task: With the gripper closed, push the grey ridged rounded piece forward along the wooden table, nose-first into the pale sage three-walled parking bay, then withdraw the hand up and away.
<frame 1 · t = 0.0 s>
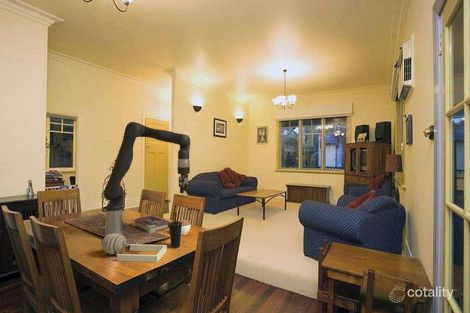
hand: (183, 192, 158), 29 cm above the table, fingers open, 8 cm apart
book: (150, 227, 183), on the table
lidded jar: (182, 233, 168), on the table
grey ridged rounded piece: (114, 255, 134), on the table
bay: (142, 255, 133), on the table
drinking cup: (175, 247, 145), on the table
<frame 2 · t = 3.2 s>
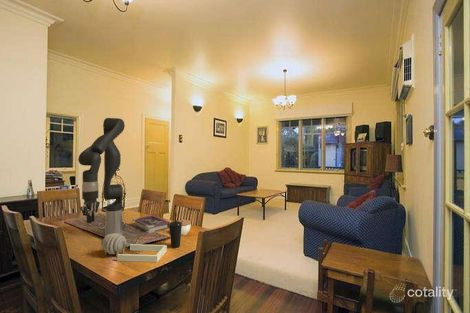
hand: (90, 222, 134), 17 cm above the table, fingers closed
nothing on the table moved.
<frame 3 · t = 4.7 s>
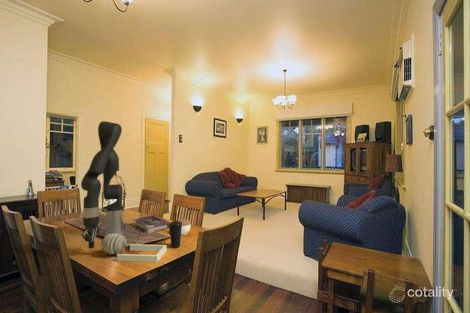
hand: (91, 247, 134), 3 cm above the table, fingers closed
nothing on the table moved.
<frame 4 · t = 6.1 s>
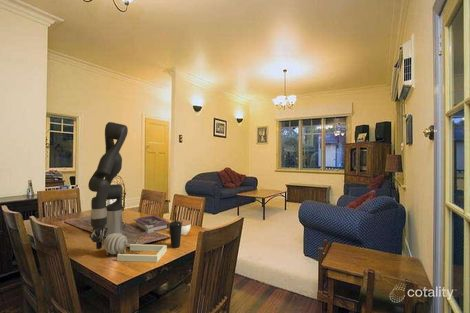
hand: (99, 248, 134), 3 cm above the table, fingers closed
grey ridged rounded piece: (115, 255, 134), on the table, touching gripper
everything else where it was.
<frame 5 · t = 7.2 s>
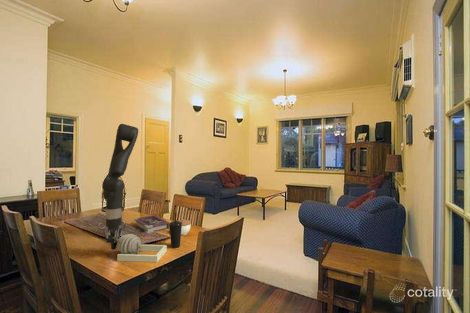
hand: (113, 249, 134), 3 cm above the table, fingers closed
grey ridged rounded piece: (129, 256, 132), on the table, touching gripper
everything else where it was.
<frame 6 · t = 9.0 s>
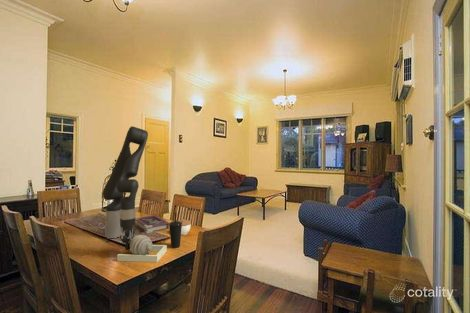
hand: (128, 249, 133), 3 cm above the table, fingers closed
grey ridged rounded piece: (140, 257, 131), on the table, touching gripper
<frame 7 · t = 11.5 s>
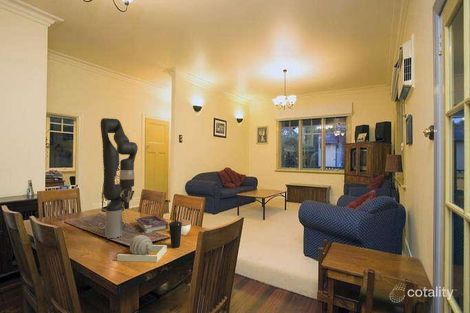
hand: (126, 208, 141), 23 cm above the table, fingers closed
grey ridged rounded piece: (141, 257, 131), on the table
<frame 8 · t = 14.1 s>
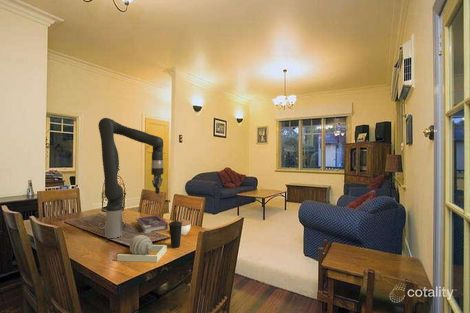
hand: (157, 193, 165), 27 cm above the table, fingers closed
at the end: grey ridged rounded piece inside the target area (1.9 cm from its centre), on the table; grey ridged rounded piece tilted 0°; the gripper is holding nothing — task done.
